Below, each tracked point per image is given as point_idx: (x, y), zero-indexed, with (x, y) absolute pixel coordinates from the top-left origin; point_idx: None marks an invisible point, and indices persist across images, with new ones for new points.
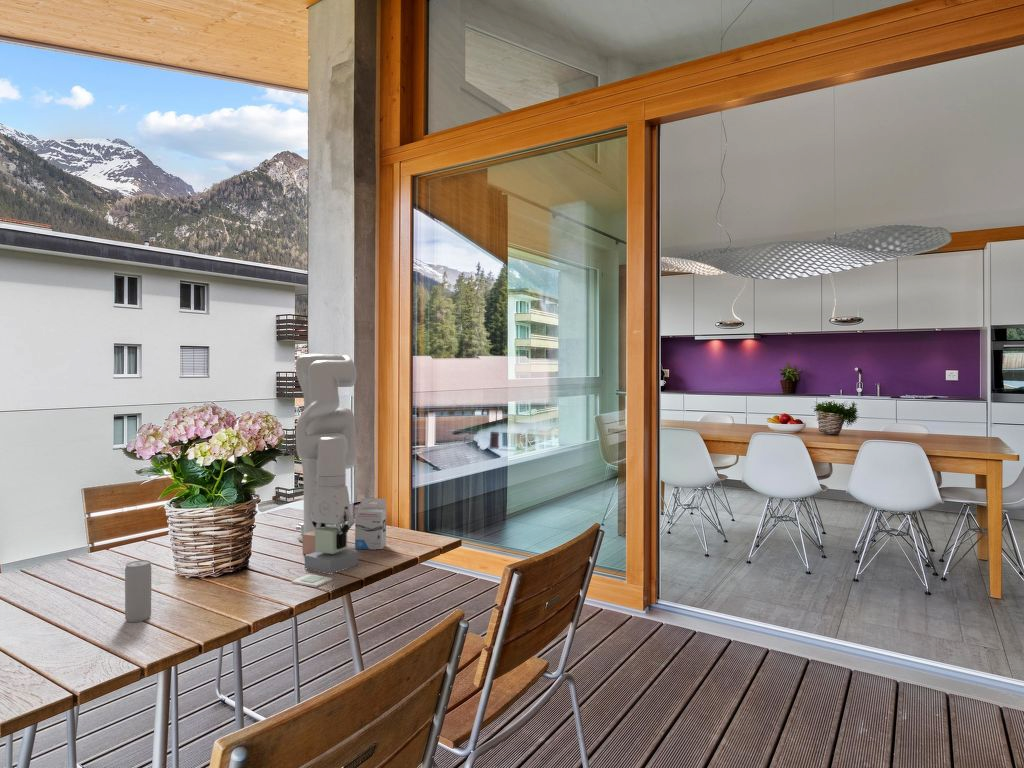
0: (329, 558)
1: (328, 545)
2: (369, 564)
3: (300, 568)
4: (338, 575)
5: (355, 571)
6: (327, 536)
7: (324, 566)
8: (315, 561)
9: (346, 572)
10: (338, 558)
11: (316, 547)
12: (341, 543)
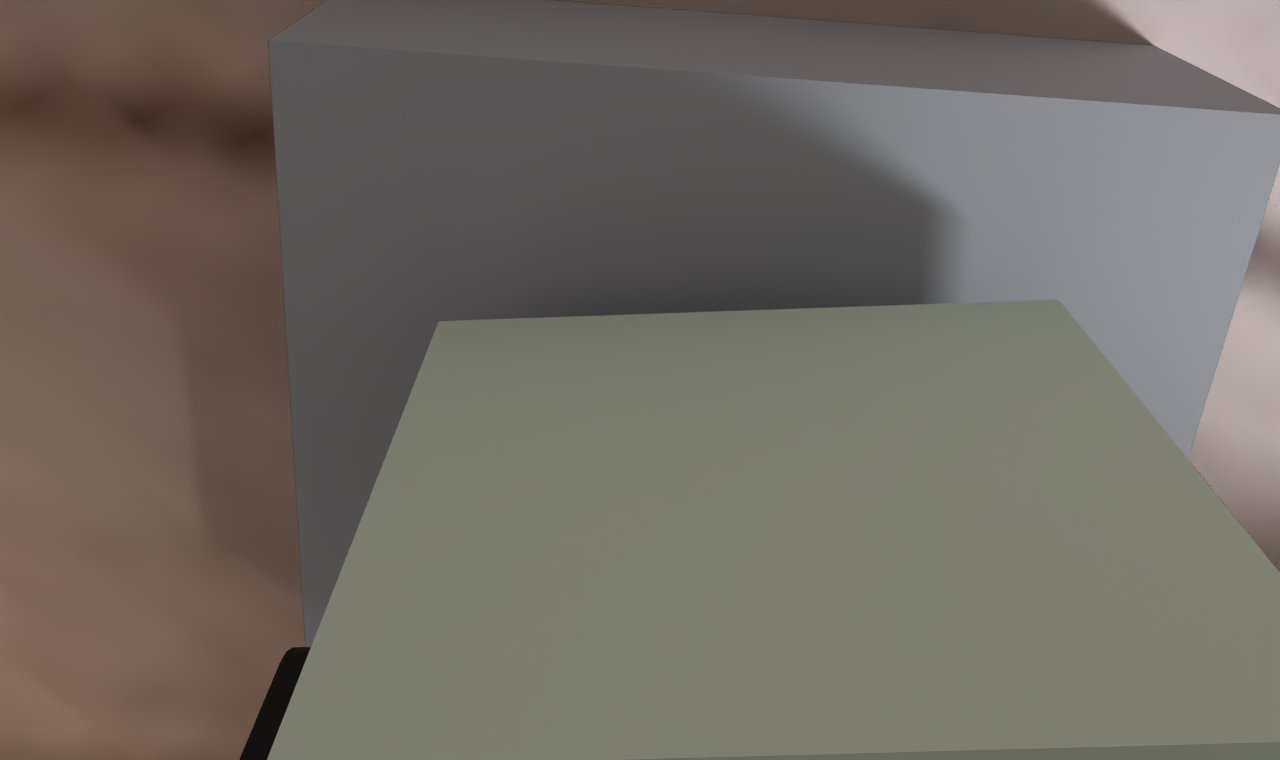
0: (464, 188)
1: (574, 416)
2: (211, 710)
3: (1251, 11)
4: (159, 9)
5: (90, 346)
6: (604, 590)
7: (530, 25)
8: (849, 61)
9: (183, 229)
10: (289, 303)
11: (1051, 348)
12: (298, 664)
